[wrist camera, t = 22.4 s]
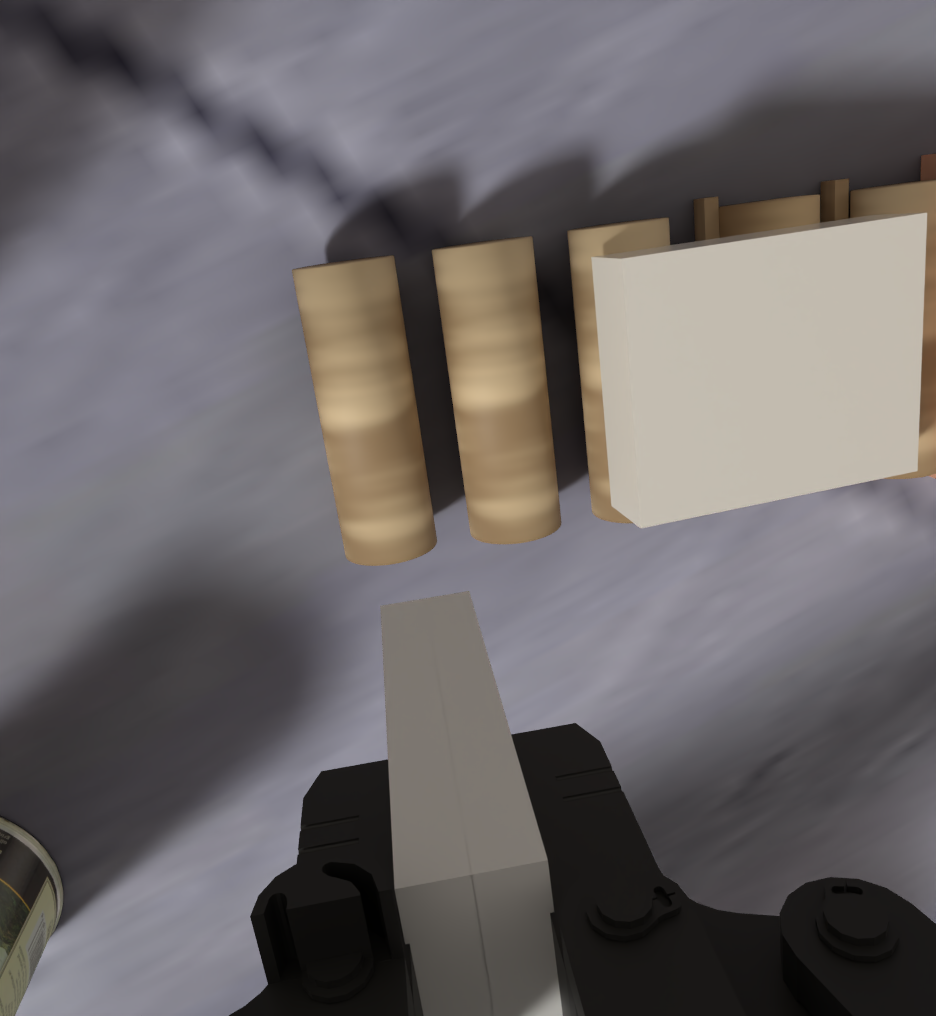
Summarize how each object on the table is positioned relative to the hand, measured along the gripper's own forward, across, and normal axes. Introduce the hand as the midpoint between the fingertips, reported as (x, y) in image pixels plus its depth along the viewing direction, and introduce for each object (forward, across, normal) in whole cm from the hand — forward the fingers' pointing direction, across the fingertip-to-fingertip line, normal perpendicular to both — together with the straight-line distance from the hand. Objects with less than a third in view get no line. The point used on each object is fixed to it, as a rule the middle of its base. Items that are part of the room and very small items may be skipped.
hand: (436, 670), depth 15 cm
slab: (+21, +14, 0) cm, 25 cm away
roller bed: (+24, +10, 0) cm, 27 cm away
